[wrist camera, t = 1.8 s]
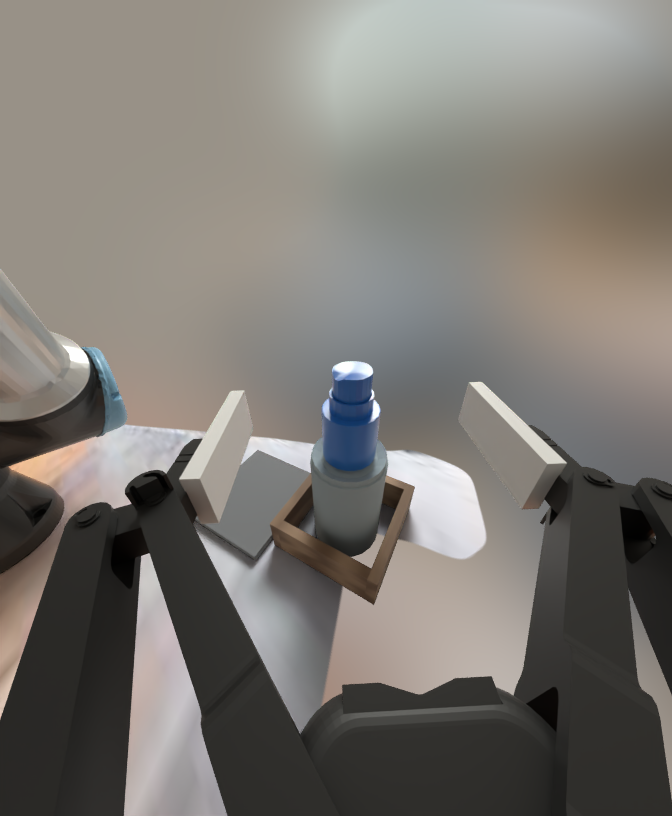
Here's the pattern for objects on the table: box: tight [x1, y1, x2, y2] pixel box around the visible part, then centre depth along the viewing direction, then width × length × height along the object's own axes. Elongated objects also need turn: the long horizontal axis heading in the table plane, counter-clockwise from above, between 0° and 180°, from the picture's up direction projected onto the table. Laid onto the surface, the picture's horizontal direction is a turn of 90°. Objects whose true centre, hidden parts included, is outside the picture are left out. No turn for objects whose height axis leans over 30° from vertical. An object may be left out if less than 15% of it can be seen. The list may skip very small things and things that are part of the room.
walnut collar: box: [270, 473, 415, 605], centre depth 37 cm, size 14×14×5 cm
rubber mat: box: [195, 450, 310, 561], centre depth 42 cm, size 13×15×1 cm
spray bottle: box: [310, 361, 388, 557], centre depth 32 cm, size 9×9×25 cm
